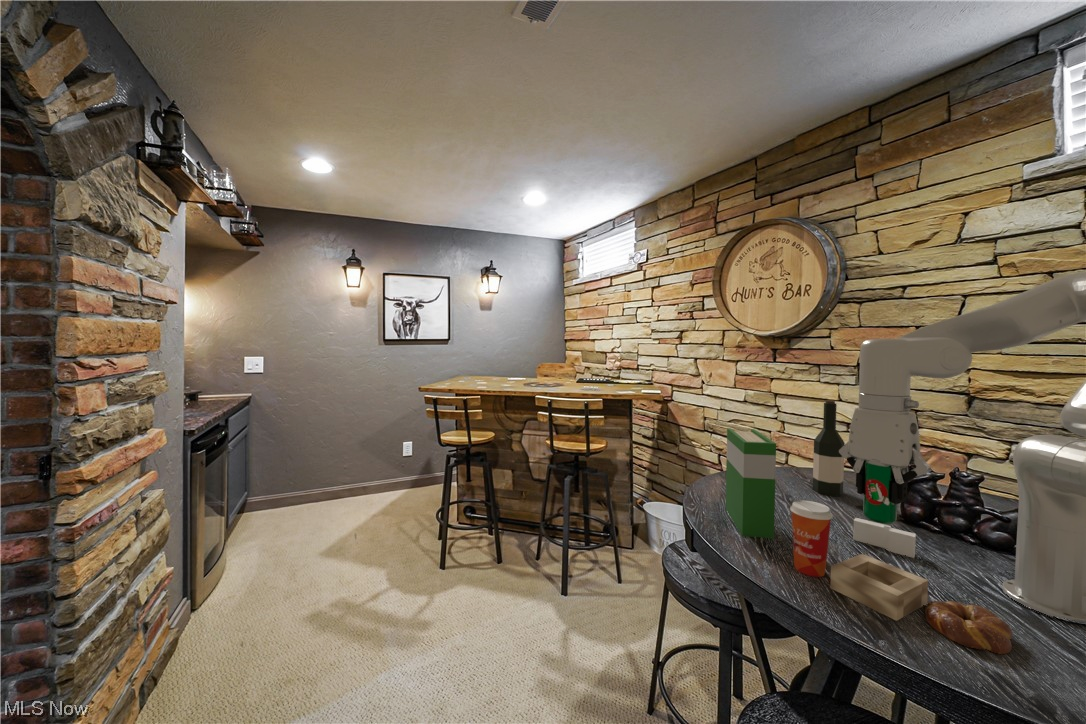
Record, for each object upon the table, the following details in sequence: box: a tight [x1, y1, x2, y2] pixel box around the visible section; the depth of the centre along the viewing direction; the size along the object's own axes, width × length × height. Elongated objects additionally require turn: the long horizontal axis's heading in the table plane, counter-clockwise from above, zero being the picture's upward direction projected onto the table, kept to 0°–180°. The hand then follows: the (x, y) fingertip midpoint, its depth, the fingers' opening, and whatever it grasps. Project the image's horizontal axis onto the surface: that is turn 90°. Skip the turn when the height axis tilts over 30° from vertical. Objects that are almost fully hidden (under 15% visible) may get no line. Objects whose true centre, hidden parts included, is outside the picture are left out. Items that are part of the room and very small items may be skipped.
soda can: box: [862, 459, 898, 525], centre depth 80 cm, size 5×5×12 cm
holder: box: [829, 553, 929, 622], centre depth 81 cm, size 11×11×4 cm
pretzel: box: [924, 600, 1013, 655], centre depth 71 cm, size 12×11×4 cm
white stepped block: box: [852, 517, 917, 559], centre depth 99 cm, size 15×11×6 cm
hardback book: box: [725, 427, 777, 539], centre depth 113 cm, size 18×7×24 cm, turn 169°
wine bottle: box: [812, 399, 846, 497], centre depth 137 cm, size 8×8×30 cm
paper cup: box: [789, 499, 834, 578], centre depth 90 cm, size 8×8×14 cm
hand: (880, 496), depth 80 cm, fingers closed on soda can, 5 cm apart
